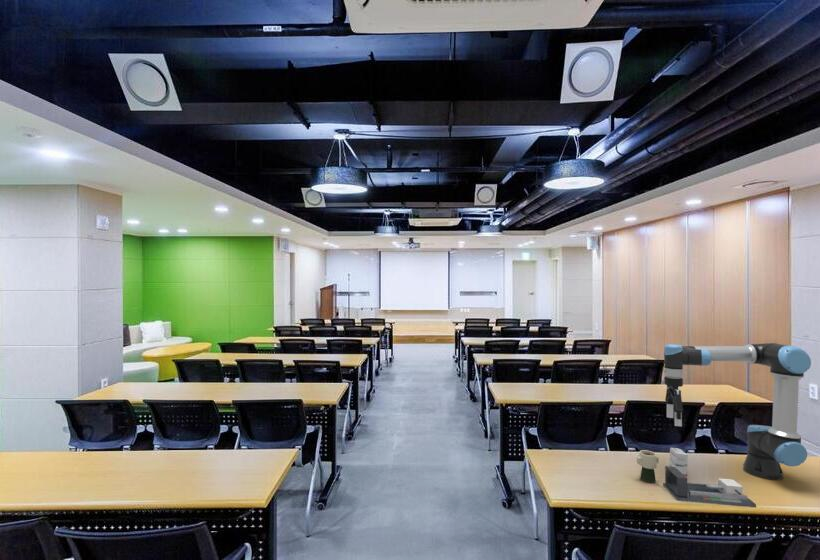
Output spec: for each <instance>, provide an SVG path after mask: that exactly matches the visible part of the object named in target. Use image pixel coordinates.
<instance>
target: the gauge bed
mask: <svg viewBox="0 0 820 560" xmlns="http://www.w3.org/2000/svg"><path fill="white" fill-rule="evenodd" d="M664 468H665V469H664V470H665V471H664V475H665V476H664V482H662V486H663V487H664V488H665V489H666V490H667V491H668V493H669V494H671V496H672V497H674V499H675V500H676V501H680V502H691V503H693V502H694V503H703V504H717V505H729V506H736V507H737V506H738V507H749V508H750V507H751V508H757V504H756V503H755V502H753V500H751V498H749V497H748V495H747V494H746V495H745V494H743V495H737V494H725V493H721V492H720V491H719V490H718V489H707V487H706V485H718V483H717V484H713V483H701V482H688V476H687V477H685V476H684V475H683V474H682V473H681V472H680V471H679V470H678V469H676V468H675V467H670V465H669V466H668V465H667V466H666V465H665V467H664Z"/></svg>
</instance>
